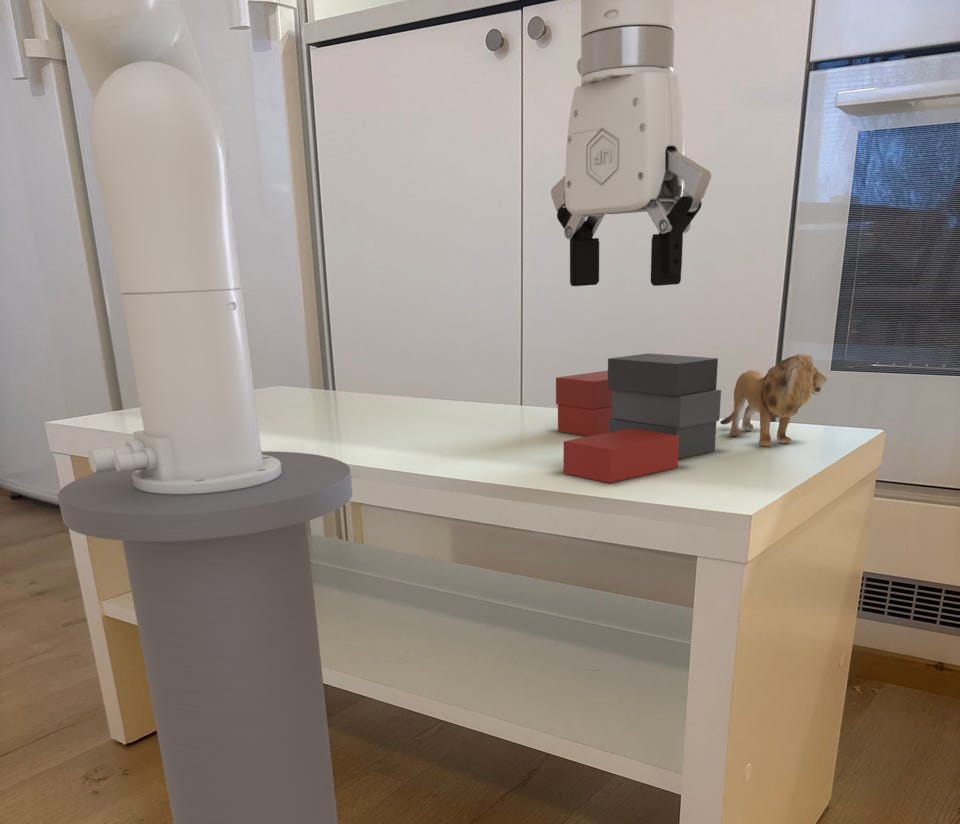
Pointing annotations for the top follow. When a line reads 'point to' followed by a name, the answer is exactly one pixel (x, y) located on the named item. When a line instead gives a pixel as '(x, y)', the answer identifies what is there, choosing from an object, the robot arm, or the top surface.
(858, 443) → the top surface
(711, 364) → the grey blocks
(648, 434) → the red rectangular block
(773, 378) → the lion figurine
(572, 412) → the red blocks
